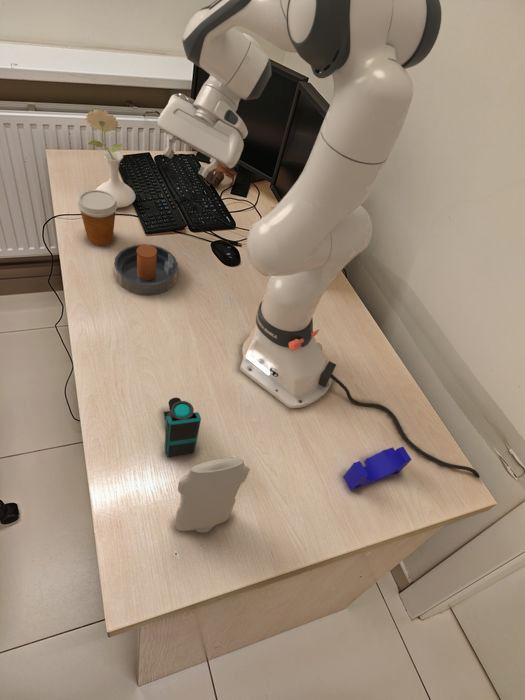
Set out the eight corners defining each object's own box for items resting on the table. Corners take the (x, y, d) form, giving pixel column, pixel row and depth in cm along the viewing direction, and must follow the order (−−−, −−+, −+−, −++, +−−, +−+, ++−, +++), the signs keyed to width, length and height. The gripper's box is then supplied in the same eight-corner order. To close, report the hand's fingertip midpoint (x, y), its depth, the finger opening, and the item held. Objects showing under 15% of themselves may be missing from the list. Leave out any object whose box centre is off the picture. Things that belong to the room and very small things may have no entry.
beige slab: (174, 539, 78) (183, 484, 61) (170, 515, 80) (177, 456, 64) (234, 525, 81) (258, 469, 65) (229, 503, 84) (250, 444, 67)
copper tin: (159, 277, 118) (160, 253, 112) (143, 283, 115) (143, 259, 109) (149, 266, 119) (150, 242, 114) (133, 271, 117) (132, 247, 111)
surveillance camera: (191, 374, 85) (201, 420, 80) (186, 409, 94) (195, 453, 89) (160, 377, 84) (169, 425, 78) (158, 413, 93) (166, 458, 87)
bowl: (188, 284, 119) (189, 272, 116) (135, 304, 110) (135, 292, 107) (156, 250, 125) (156, 238, 122) (103, 267, 116) (102, 254, 114)
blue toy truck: (387, 454, 97) (399, 440, 93) (398, 473, 95) (411, 459, 90) (339, 470, 93) (349, 456, 88) (350, 490, 90) (361, 477, 86)
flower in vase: (141, 196, 139) (142, 112, 121) (125, 216, 132) (123, 128, 113) (100, 183, 139) (94, 97, 121) (82, 202, 132) (72, 112, 113)
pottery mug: (202, 174, 155) (216, 153, 152) (225, 191, 159) (239, 172, 155) (199, 183, 145) (214, 162, 142) (223, 202, 149) (239, 181, 145)
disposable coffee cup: (114, 253, 121) (112, 213, 112) (76, 246, 119) (71, 206, 110) (122, 232, 127) (121, 193, 118) (86, 225, 126) (82, 185, 117)
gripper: (170, 82, 102) (141, 139, 104) (248, 124, 99) (217, 182, 101) (179, 96, 108) (152, 150, 110) (254, 136, 106) (224, 190, 107)
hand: (184, 166), depth 105 cm, fingers open, 8 cm apart
